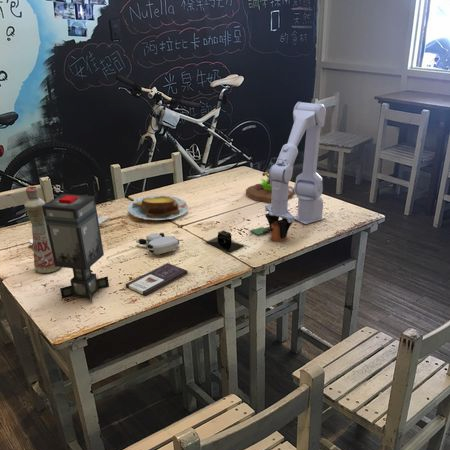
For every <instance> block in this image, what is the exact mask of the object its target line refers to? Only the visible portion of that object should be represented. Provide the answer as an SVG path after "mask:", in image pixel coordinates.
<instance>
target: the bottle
mask: <svg viewBox="0 0 450 450" xmlns="http://www.w3.org/2000/svg"><path fill="white" fill-rule="evenodd" d="M25 192H26V193H25V194H26V196H27V200H26V201H25V202H24V205H23V206H24V208H25V211H26V214H27V217H28V219H29V221H30V225H31V233H32V234H31V235H32V238H33V245H32V247H33V250H32V252H33V265H34V268H35V271H37V272H38V273H40V274H41V273H42V274H48V273H54V272H56V271H58V270H61V268H62V267H57V266H55V263H54V259H53V254H52V250H51V245H50V240H49V236H48V231H47V227H46V222H45V218H44V213H43V209H42V206H43V205H45V204H46V202H45V200H43V199H42V198H40V195H39V188H38V187H37V186H32V185H30V186H27V187H26V188H25Z"/></svg>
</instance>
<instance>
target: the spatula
mask: <svg viewBox="0 0 450 450" xmlns="http://www.w3.org/2000/svg"><path fill="white" fill-rule="evenodd" d="M267 229H270V226H267V227H264V226H261V227H258V228H253V229H250V231H249V232H250V233H251V234H254V235H255V236H256V237H258V236H263V235H267V234H271V232H267V233H263V231H264V230H267Z"/></svg>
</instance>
